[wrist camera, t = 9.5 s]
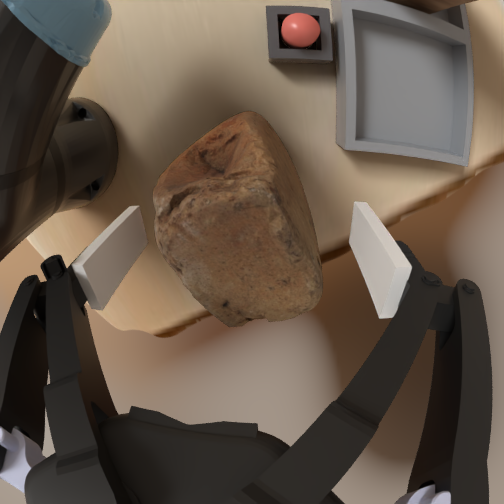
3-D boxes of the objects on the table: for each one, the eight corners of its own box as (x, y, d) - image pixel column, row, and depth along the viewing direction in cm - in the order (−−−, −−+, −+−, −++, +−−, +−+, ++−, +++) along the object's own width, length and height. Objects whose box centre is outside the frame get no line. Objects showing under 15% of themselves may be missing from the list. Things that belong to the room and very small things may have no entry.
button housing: (269, 62, 23) (269, 58, 20) (266, 14, 19) (265, 5, 17) (326, 64, 22) (332, 60, 20) (323, 16, 19) (329, 8, 16)
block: (304, 187, 30) (343, 317, 13) (246, 212, 32) (219, 351, 16) (263, 101, 25) (248, 107, 8) (201, 132, 27) (99, 199, 11)
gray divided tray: (335, 142, 27) (345, 149, 24) (317, -79, 10) (321, -94, 6) (449, 157, 26) (467, 166, 22) (433, -47, 9) (446, -55, 5)
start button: (281, 49, 21) (283, 43, 18) (279, 22, 19) (281, 12, 16) (315, 51, 21) (321, 45, 18) (313, 23, 19) (318, 14, 16)
